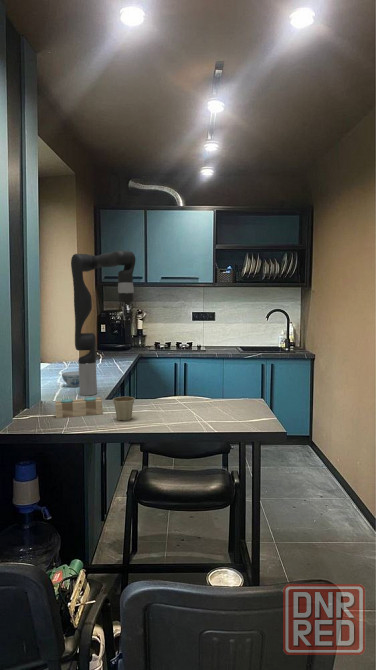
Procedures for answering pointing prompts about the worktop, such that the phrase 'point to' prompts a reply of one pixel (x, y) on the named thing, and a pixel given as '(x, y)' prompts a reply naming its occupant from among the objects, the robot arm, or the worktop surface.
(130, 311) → the robot arm
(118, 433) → the worktop surface
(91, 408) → the oak block
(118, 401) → the flower pot
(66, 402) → the teal peg
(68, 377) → the chinaware
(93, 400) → the teal peg
